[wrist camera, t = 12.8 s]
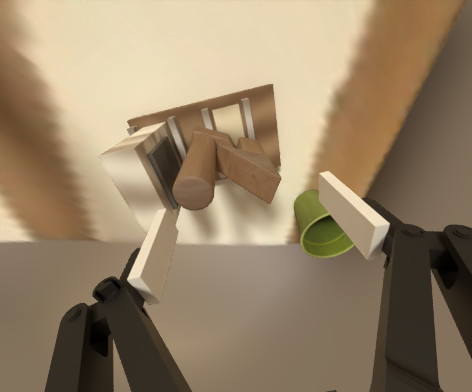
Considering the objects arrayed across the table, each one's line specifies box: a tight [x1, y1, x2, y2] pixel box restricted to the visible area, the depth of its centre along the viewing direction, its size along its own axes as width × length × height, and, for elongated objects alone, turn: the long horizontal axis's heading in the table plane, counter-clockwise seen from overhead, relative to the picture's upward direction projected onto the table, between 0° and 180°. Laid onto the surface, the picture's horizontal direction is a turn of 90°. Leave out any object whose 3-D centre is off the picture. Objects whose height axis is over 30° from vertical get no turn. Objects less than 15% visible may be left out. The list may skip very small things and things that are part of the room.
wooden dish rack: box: [98, 84, 281, 234], centre depth 29 cm, size 14×24×16 cm, turn 102°
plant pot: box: [294, 190, 355, 258], centre depth 40 cm, size 12×12×11 cm
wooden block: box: [173, 126, 281, 210], centre depth 25 cm, size 4×11×18 cm, turn 76°
